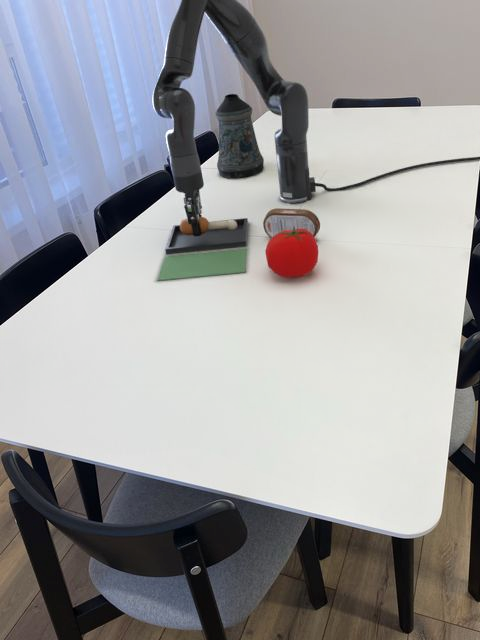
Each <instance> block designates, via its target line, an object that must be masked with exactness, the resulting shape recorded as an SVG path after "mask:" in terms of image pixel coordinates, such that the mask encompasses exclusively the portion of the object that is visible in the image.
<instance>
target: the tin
mask: <svg viewBox="0 0 480 640" xmlns="http://www.w3.org/2000/svg"><path fill="white" fill-rule="evenodd" d="M262 226H263V230H264V232H265V234H266V235H267V236H268V237H269V238H270V239H271V238H272V237H273V236H274V235H276V234H278V233H280V232H282V231H284V230H290V231H293V228H294V226H295V230H296V229H305V230H307V231H309V232H311V233H312V235H313V236H314V237H315V238H316V237H317V234H318V233H319V232H320V229H321V222H320V219H319V217H318V216H317V214H316V213H314V212H313V211H311V210H309V209H305V208H281V207H280V208H271V210H269V211H268V212H267V213H266V215H265V217H264V219H263V221H262Z"/></svg>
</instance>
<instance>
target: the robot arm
mask: <svg viewBox="0 0 480 640" xmlns="http://www.w3.org/2000/svg"><path fill="white" fill-rule="evenodd" d="M204 15H206V17H207V18H208V20H209V21H210V22H211V24H212V26H213V27H214V28H215V30H216V31H217V33H218V34H219V35H220V37H221V39H222V40H223V41H224V43H225V45H226V46H227V47H228V49H229V50H230V52H231V53H232V54H233V56H234V57H235V58H236V60H237V61H238V63H239V64H240V65H241V67H242V68H243V70H244V71H245V72H246V74H247V75H248V77H249V78H250V79H251V81H252V82H253V84H254V86H255V87H256V89H257V91H258V93H259V95H260V97H261V98H262V100H263V102H264V104H265V106H266V107H267V109H268V110H269V111H270V112H271V113H272V114H274V115H275V116H279V117H281V128H279V129H277V130H276V131H275V133H274V145H275V146H274V147H275V154H276V155H275V156H276V164H277V176H278V187H279V199H280V201H281V202H283V203H286V204H298V203H303V202H306V201H309V200H312V195H311V194H312V193H316V192H317V190H316V189H317V188H316V187H320V188H323V190H324V191H326V192H339V191H345V190H349V189H352V188H357V187H360V186H363V185H366V184H369V183H371V182H374V181H377V180H380V179H383V178H386V177H388V176H392V175H395V174H398V173H402V172H406V171H410V170H415V169H419V168H423V167H428V166H436V165H437V166H438V165H444V164H449V163H450V164H452V163H461V162H470V161H480V156H472V157H471V156H470V157H461V158H453V159H444V160H438V161H437V160H436V161H431V162H424V163H420V164H415V165H411V166H406V167H402V168H398V169H395V170H392V171H388V172H386V173H383V174H380V175H376V176H374V177H370V178H368V179H365V180H363V181H360V182H357V183H353V184H348V185H345V186H341V187H336V188H335V187H333V188H332V187H328V186H327V185H326V184H324V183H319V182H316V179H315V177H314V176H312V177H310V166H309V154H308V153H309V152H308V140H307V139H308V138H307V137H308V135H307V134H308V130H309V123H310V121H309V116H310V115H309V96H308V92H307V90H306V87H305V86H304V85H303V84H302V83H300V82H296V81H291V80H286V79H284V78H283V77H282V76H281V75H280V73H279V72H278V70H277V69H276V68H275V66H274V65H273V62H272V60H271V58H270V54H269V47H268V41H267V39H266V35H265V34H264V32H263V30H262V28H261V26H260V25H259V23H258V22H257V21H256V19H255V17H254V16H253V14H252V13H251V11H249V9H248V8H247V7H246V6H245V5H244V4H242V3H241V2H240V1H238V0H180V4H179V7H178V9H177V10H176V13H175V16H174V18H173V20H172V22H171V25H170V28H169V31H168V34H167V39H166V45H165V51H164V52H165V53H164V59H163V66H162V68H161V70H160V73H159V75H158V78H157V80H156V83H155V86H154V89H153V92H152V106H153V110H154V112H155V113H156V115H157V116H158V117H160V118H163V119H169V120H170V119H172V120H173V121H172V122H173V127H172V128H170V129H168V130H167V131H166V133H165V141H166V145H167V150H168V155H169V163H170V164H169V165H170V169H171V174H172V179H173V184H174V188H175V190H176V192H178V193H182V194H184V197H183V204H184V206H183V209H184V211H185V216H186V218H187V219H188V223H189V224H191V226H192V231H193V235H194V236H201V234H202V233H201V228H200V223H199V222H200V220H199V217H203V216H202V213H203V211H202V209H203V205H202V200H201V193H200V190H201V189H202V188H204V185H205V182H204V178H203V177H204V176H203V172H202V166H201V161H200V157H199V154H198V150H197V144H196V140H195V121H196V119H195V118H196V104H195V99H194V97H193V96H192V93H191V92H190V91H189V90H188V89H186V88H183V87H181V85H182V83H183V81H185V80H188V79H190V78H191V77H192V76H193V73H194V68H195V60H196V54H197V48H198V42H199V36H200V31H201V27H202V23H203V19H204ZM194 217H195V219H192V218H194Z"/></svg>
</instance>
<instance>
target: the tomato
mask: <svg viewBox="0 0 480 640" xmlns="http://www.w3.org/2000/svg"><path fill="white" fill-rule="evenodd" d="M265 258H266V263H267V267H268V268H269V269H270V270H271V271H272V272H273V273H274V274H276V275H277V276H279V277H283V278H299V277H305V276H306V275H308V274H310V273H312V271H313V270H314V268H315V267H316V265H317V263H318V260H319V245H318V243H317V240H316V236H315V237H314V236H313V235H312V233H311V232H309V231H307V230H305V229H296V230H295V226H294V228H293V231H290V230H284V231H282V232H280V233H278V234H276V235H274V236H273V237H272V238H270V239H269V241H268V242H267V244H266V248H265Z"/></svg>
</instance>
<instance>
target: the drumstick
mask: <svg viewBox="0 0 480 640" xmlns="http://www.w3.org/2000/svg"><path fill="white" fill-rule="evenodd" d="M192 219H195V217H194V218H193V217H192ZM199 220H200V222H199V223H200V228H201V233H202V234H204V233H206V232H207V231H208V230H214V229H223V228H228V229H229V230H235V229H236V228H237V223H236V221H234V220H233V219H226V220H227V221H223V220H217V221H218V222H213V221H209V220H208V219H207V218H206V217H204V216H202V217H199ZM179 225H180V230H181V232H182V233H183V234H185V235H193V231H192V226H191V224H189V223H188V219H187V217H186V218H184V219H182V220H181V221H180V223H179Z"/></svg>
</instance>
